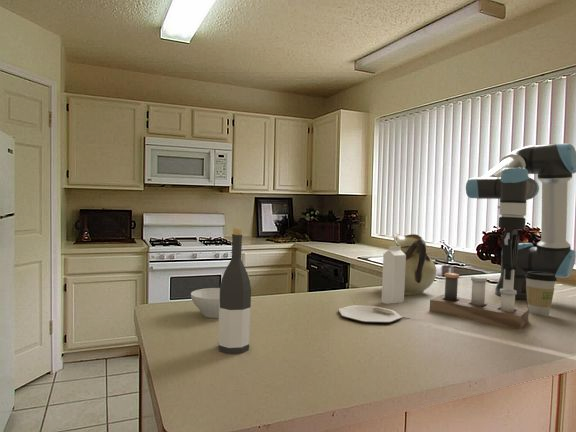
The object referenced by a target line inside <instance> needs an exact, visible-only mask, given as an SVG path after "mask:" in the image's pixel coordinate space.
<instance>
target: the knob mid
mask: <svg viewBox="0 0 576 432" xmlns="http://www.w3.org/2000/svg"><path fill="white" fill-rule="evenodd" d="M470 278H471V279H470V280H471V298H470V299H471V304H473V305H477V306H484V302H486V301H485V297H486V283H487V282H488V278H487V277H482V276H471V277H470Z"/></svg>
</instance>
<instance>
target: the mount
mask: <svg viewBox="0 0 576 432" xmlns="http://www.w3.org/2000/svg"><path fill="white" fill-rule="evenodd" d="M471 299H472V298H465V297H459V296H457V301H449V300H445V294H441V295H438V296H435V297H433V298H431V299H430V300H429V312H432V313H439V314H442V315H448V316H451V317H457V318H461V319H467V320H471V321H477V322H481V323H485V324H486V323H487V324H490V325H497V326H500V327H505V328H510V329H516V330H521V329H522V328H523V327H524V326H525V325H526V324H527V323H529V309H527V308H523V307H522V308H521V307H516V306H515V307H514V312H508V311H503V310H500V304H501V303H493V302H486V301H484V306H477V305H473V304H471Z"/></svg>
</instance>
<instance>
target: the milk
mask: <svg viewBox="0 0 576 432" xmlns="http://www.w3.org/2000/svg"><path fill="white" fill-rule="evenodd" d="M382 259H383V261H382V276H381V278H382V280H381V285H382V286H381V303H383V304H386V305H389V304H397V303H404V302H405V295H404V288H405V265H406V255H405V254H404V253H403V252H402V251H401V246H397V245H391V246H389V247H388V250H387V251H386V252H384V253H383V256H382Z"/></svg>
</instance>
